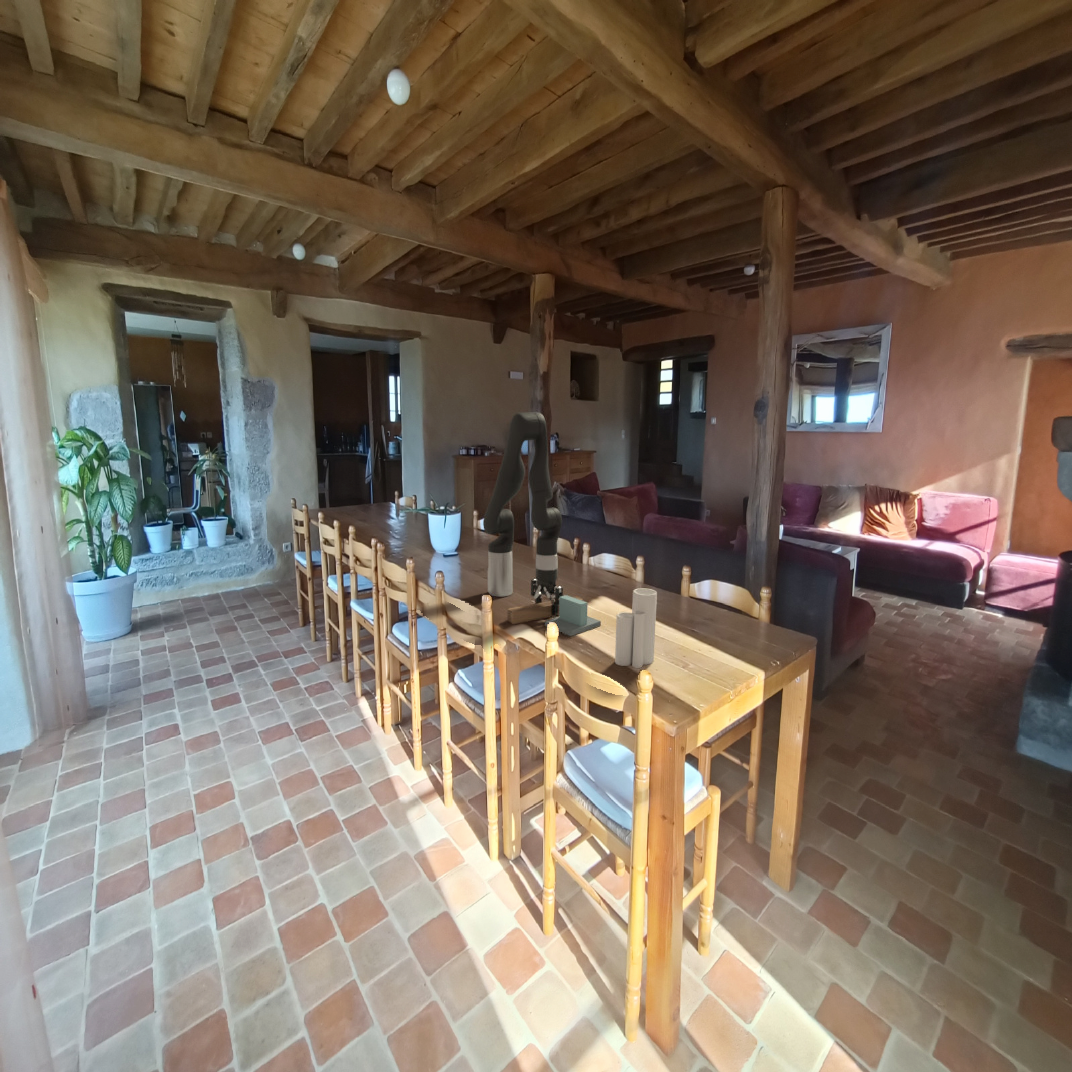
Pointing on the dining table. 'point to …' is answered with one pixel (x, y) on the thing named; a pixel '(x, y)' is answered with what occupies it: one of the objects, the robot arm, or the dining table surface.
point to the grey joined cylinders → (637, 630)
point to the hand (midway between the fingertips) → (546, 611)
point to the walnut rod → (531, 612)
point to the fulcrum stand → (573, 616)
